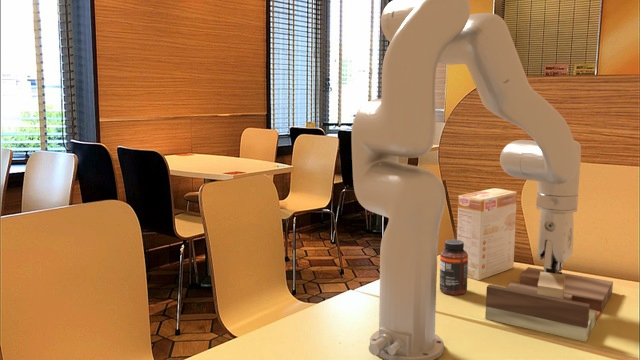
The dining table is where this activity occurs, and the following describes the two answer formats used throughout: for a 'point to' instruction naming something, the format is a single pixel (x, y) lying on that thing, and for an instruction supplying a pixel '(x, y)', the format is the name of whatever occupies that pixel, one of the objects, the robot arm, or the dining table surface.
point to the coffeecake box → (487, 231)
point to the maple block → (551, 285)
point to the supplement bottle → (453, 268)
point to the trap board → (549, 305)
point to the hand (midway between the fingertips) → (551, 290)
